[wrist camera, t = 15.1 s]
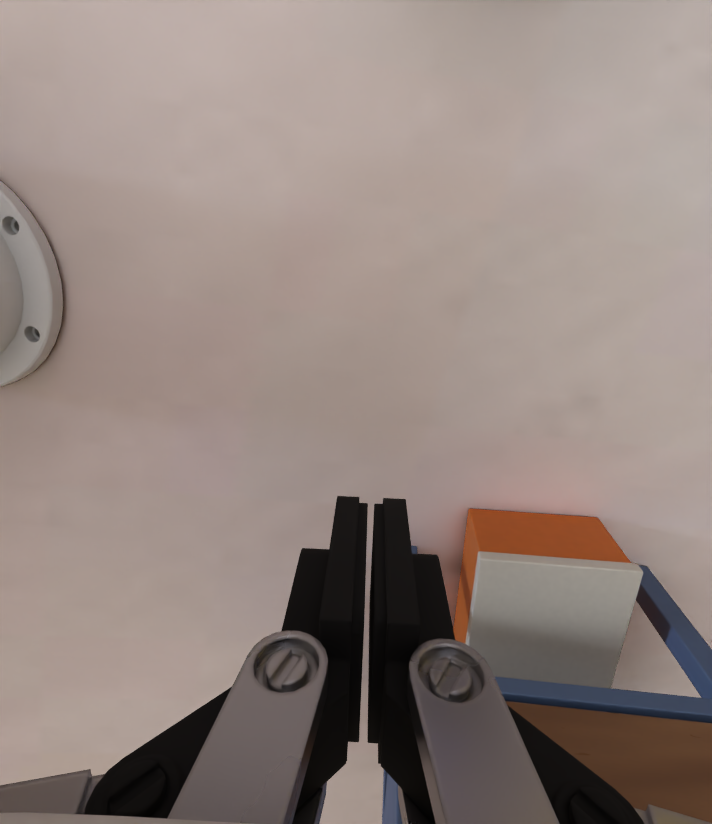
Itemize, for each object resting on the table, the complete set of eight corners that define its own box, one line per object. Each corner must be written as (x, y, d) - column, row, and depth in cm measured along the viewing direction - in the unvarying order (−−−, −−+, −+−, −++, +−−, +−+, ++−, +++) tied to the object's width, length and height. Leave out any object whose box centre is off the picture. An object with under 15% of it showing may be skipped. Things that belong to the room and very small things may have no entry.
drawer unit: (395, 541, 29) (389, 905, 13) (651, 562, 28) (993, 990, 12) (383, 688, 33) (367, 1101, 17) (606, 712, 32) (813, 1178, 16)
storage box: (466, 505, 28) (479, 558, 23) (601, 514, 27) (644, 572, 22) (449, 639, 31) (458, 710, 26) (569, 650, 31) (600, 725, 26)
